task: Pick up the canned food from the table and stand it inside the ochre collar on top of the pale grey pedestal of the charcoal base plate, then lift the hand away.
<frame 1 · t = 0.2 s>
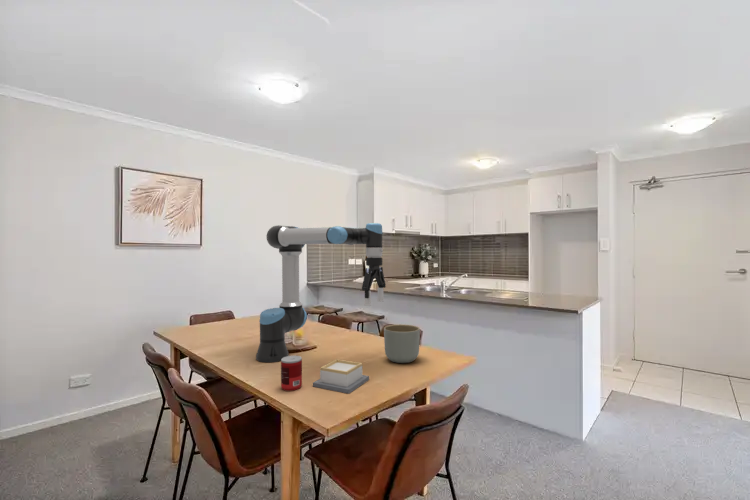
hand: (374, 303, 167), 28 cm above the table, tool pointing down, fingers open, 13 cm apart
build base: (341, 383, 143), on the table
canned food: (291, 387, 139), on the table
planter: (401, 360, 173), on the table
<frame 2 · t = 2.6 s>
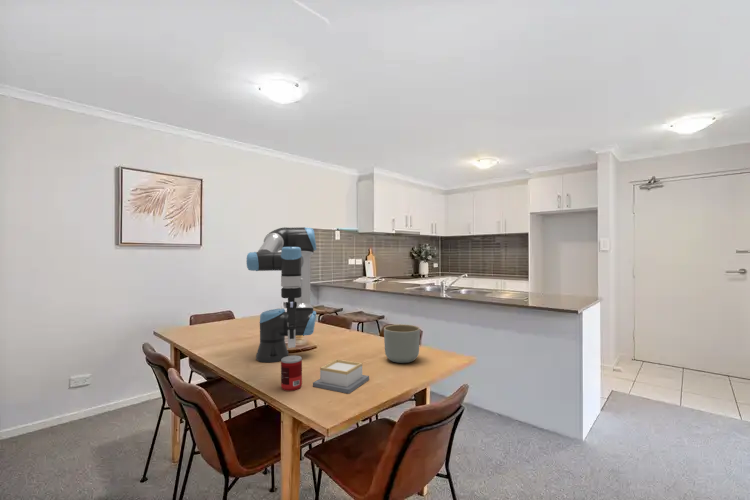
hand: (291, 342, 139), 17 cm above the table, tool pointing down, fingers open, 13 cm apart
nothing on the table moved.
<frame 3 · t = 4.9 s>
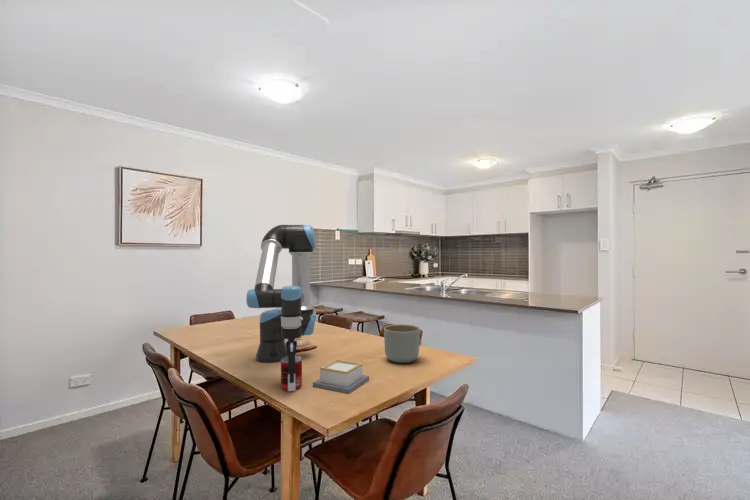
hand: (291, 386, 139), 0 cm above the table, tool pointing down, fingers closed on canned food, 8 cm apart
canned food: (291, 387, 139), on the table, touching gripper
everything else where it was.
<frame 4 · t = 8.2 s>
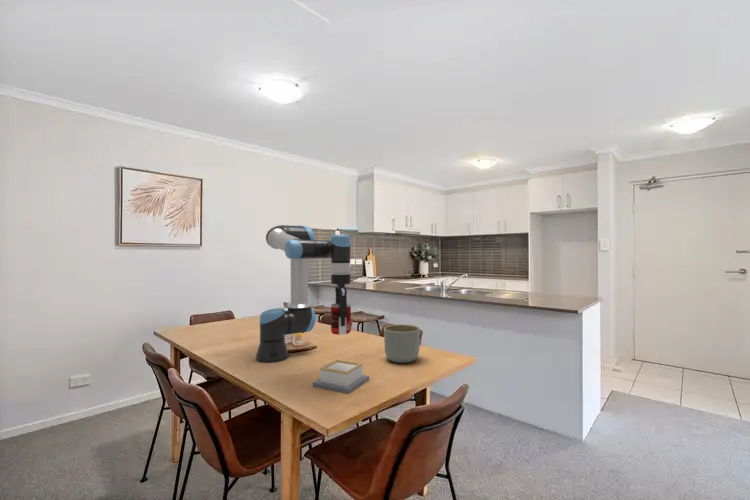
hand: (341, 331, 143), 20 cm above the table, tool pointing down, fingers closed on canned food, 8 cm apart
canned food: (340, 332, 143), point 20 cm above the table, touching gripper
everything else where it was.
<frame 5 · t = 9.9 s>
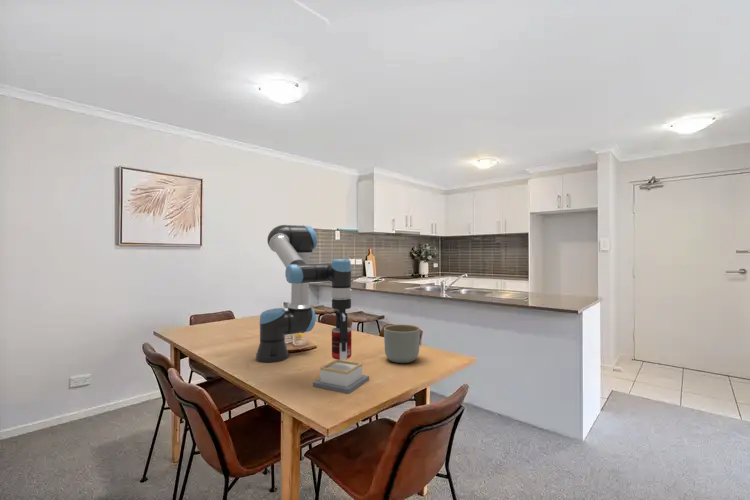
hand: (341, 356, 143), 11 cm above the table, tool pointing down, fingers closed on canned food, 8 cm apart
canned food: (341, 357, 143), point 10 cm above the table, touching gripper
everything else where it was.
when the fingers open (8 cm above the table, at t = 11.3 s): canned food drops 2 cm, resting on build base.
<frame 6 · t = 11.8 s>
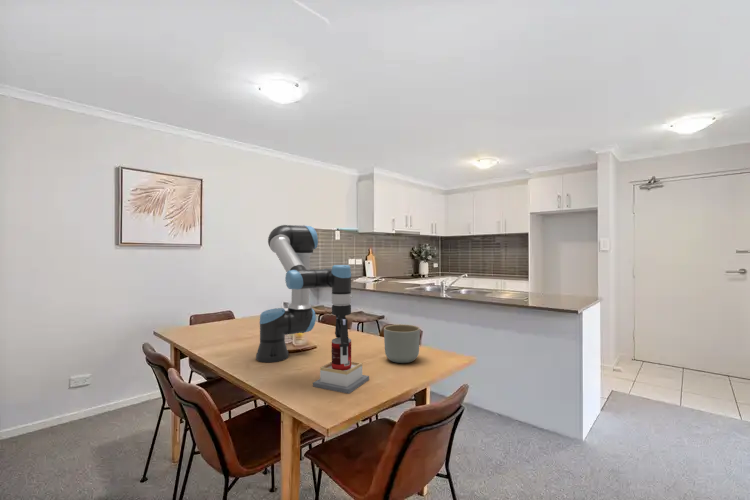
hand: (341, 358, 143), 10 cm above the table, tool pointing down, fingers open, 13 cm apart
canned food: (341, 368, 143), point 6 cm above the table, touching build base
everything else where it was.
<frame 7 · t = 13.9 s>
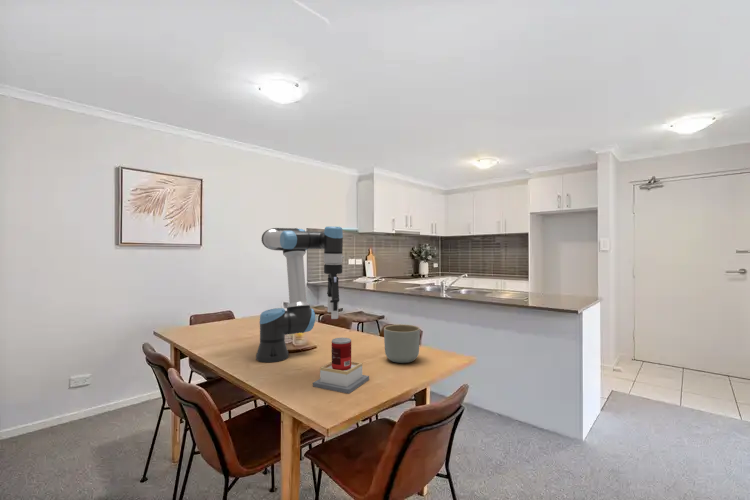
hand: (332, 315, 151), 25 cm above the table, tool pointing down, fingers open, 13 cm apart
nothing on the table moved.
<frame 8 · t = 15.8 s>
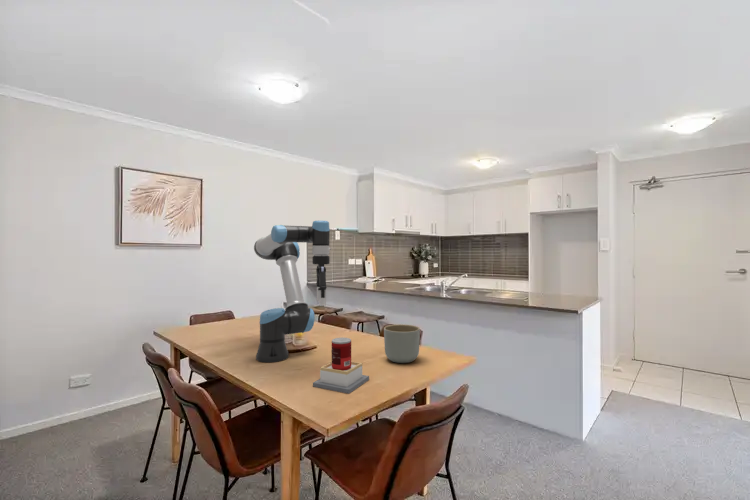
hand: (321, 303, 162), 29 cm above the table, tool pointing down, fingers open, 13 cm apart
nothing on the table moved.
at the end: canned food 0.1 cm off-centre on the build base, point 5.8 cm above the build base's base; canned food tilted 0°; the gripper is holding nothing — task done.
